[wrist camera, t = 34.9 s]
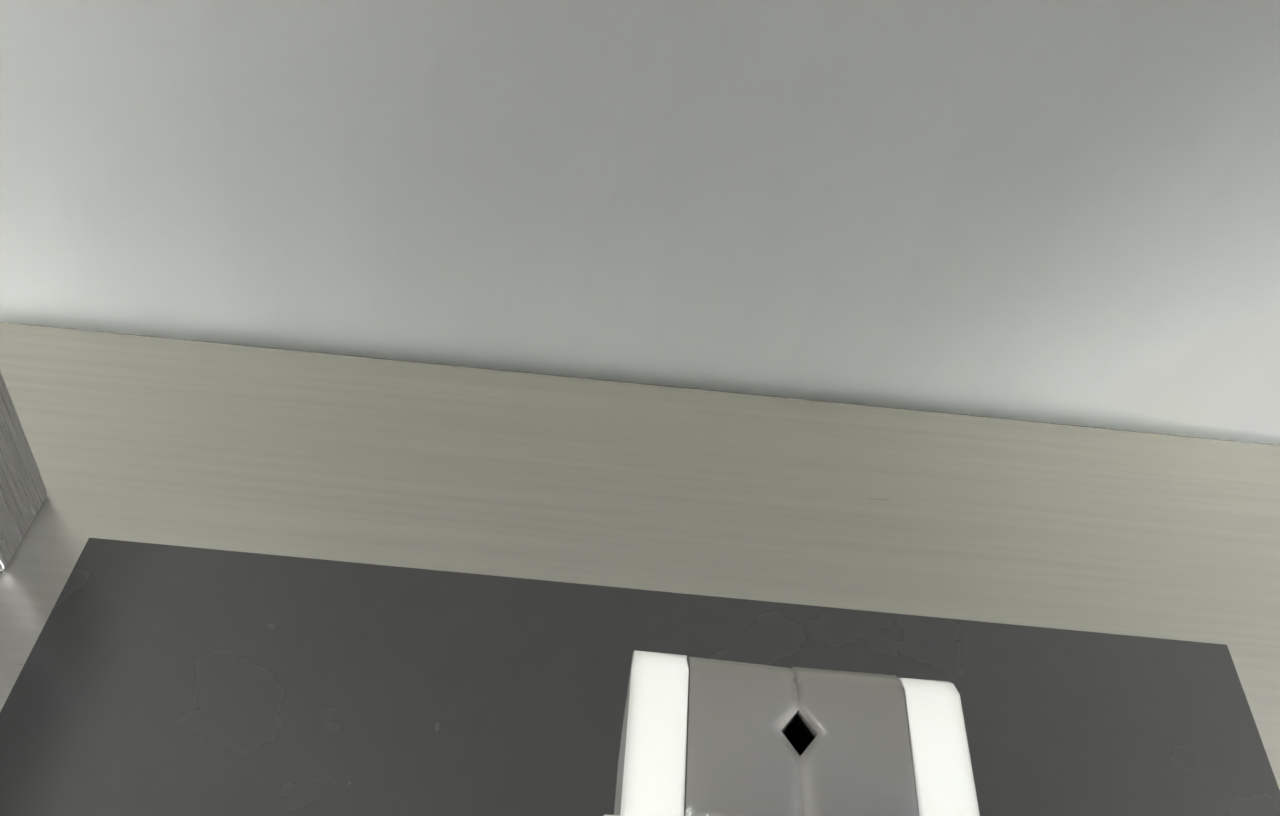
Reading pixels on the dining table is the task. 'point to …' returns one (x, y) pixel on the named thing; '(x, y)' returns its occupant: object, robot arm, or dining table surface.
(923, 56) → the dining table surface
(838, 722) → the robot arm
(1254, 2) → the dining table surface
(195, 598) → the microwave door
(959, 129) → the dining table surface
